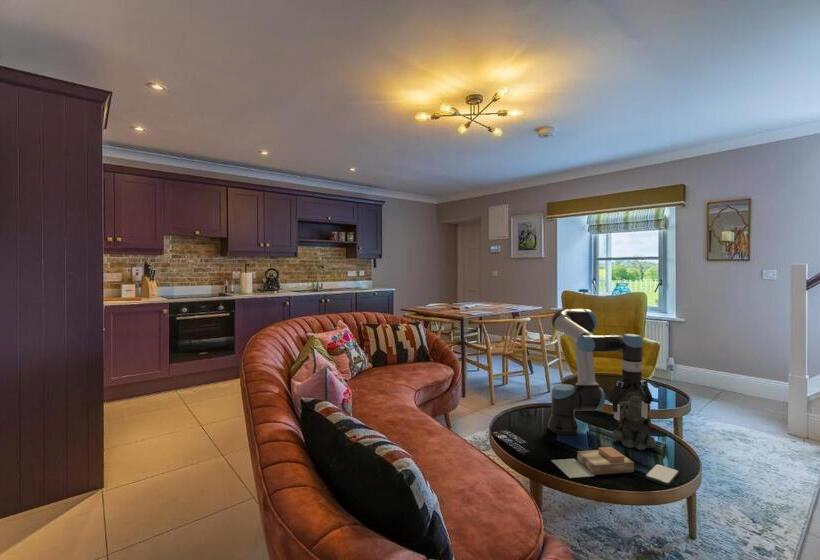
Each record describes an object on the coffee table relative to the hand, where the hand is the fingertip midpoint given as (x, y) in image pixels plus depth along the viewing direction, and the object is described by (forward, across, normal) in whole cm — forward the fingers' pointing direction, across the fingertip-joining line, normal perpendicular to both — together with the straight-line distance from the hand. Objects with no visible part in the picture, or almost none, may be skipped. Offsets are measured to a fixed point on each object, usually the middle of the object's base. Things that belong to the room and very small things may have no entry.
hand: (630, 418), depth 174 cm
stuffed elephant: (+21, +17, +19) cm, 33 cm away
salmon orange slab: (+16, -9, 0) cm, 19 cm away
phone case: (+21, +7, -11) cm, 25 cm away
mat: (+20, -27, 0) cm, 34 cm away
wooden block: (+20, -12, 0) cm, 24 cm away
